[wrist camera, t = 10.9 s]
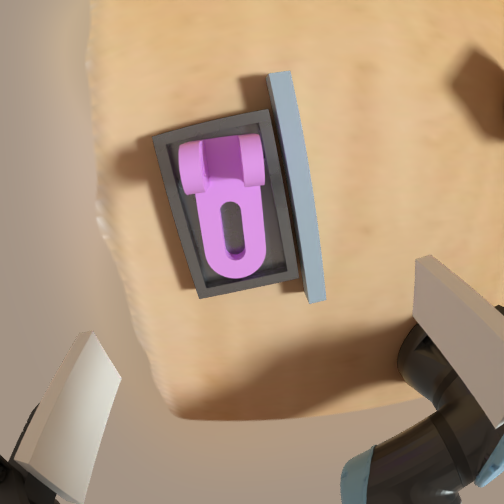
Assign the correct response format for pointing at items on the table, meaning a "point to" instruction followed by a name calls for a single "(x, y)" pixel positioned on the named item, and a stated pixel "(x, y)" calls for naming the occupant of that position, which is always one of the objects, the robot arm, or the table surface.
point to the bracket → (227, 197)
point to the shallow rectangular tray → (230, 207)
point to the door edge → (298, 182)
